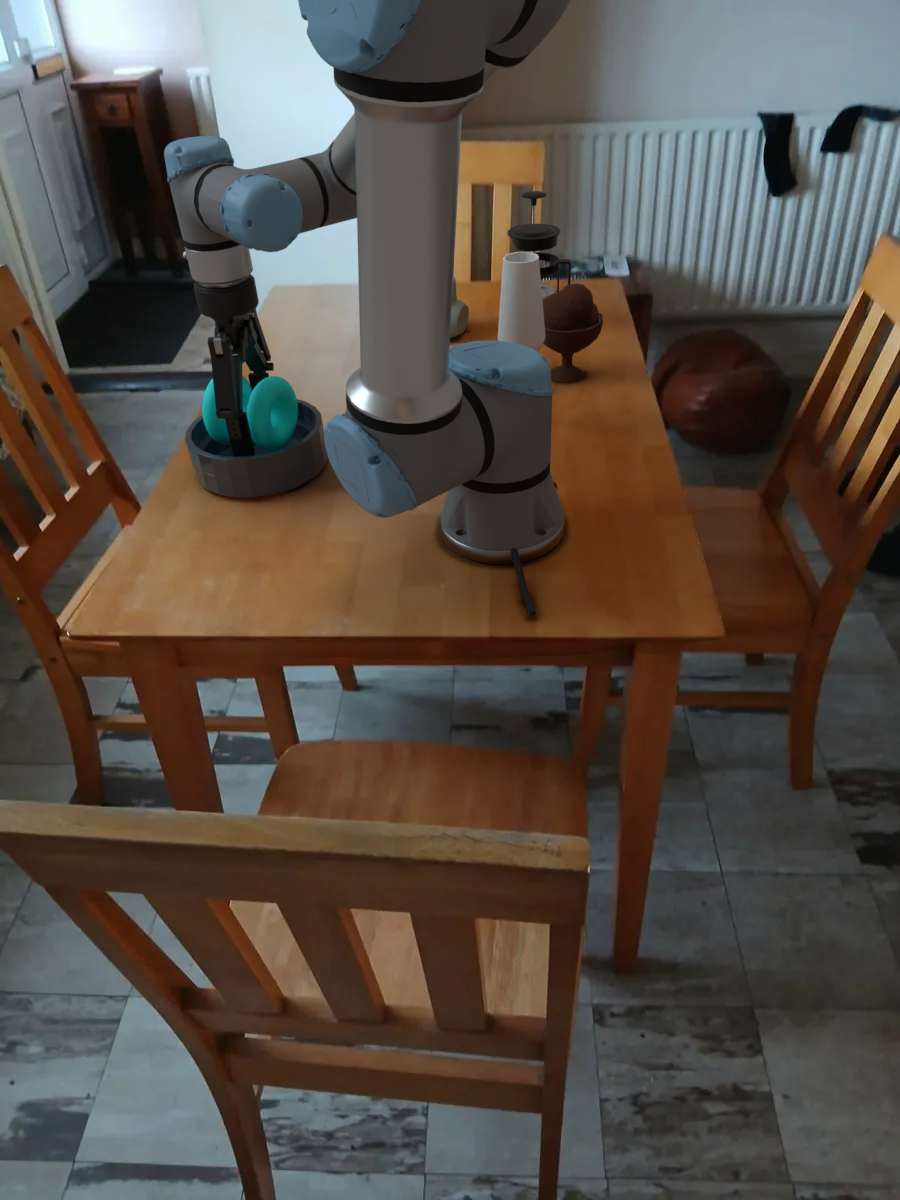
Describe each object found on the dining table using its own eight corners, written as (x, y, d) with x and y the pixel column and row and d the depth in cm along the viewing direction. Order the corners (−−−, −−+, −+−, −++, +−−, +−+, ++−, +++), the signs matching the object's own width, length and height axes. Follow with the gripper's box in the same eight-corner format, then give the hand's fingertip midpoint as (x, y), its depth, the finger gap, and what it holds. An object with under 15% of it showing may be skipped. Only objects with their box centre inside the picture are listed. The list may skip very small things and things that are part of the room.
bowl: (314, 502, 119) (306, 458, 115) (178, 502, 120) (166, 460, 116) (338, 435, 133) (332, 395, 129) (217, 437, 135) (208, 397, 131)
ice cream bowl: (598, 361, 149) (603, 270, 140) (600, 390, 140) (605, 295, 131) (534, 361, 150) (535, 271, 141) (533, 390, 142) (533, 296, 132)
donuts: (246, 423, 130) (231, 357, 123) (306, 432, 126) (295, 365, 120) (207, 456, 122) (190, 388, 116) (270, 466, 119) (256, 396, 113)
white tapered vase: (532, 407, 137) (532, 246, 122) (552, 425, 132) (555, 259, 117) (492, 417, 135) (487, 254, 120) (511, 436, 130) (508, 268, 115)
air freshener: (454, 347, 157) (451, 290, 151) (410, 344, 159) (405, 287, 153) (472, 324, 165) (470, 269, 159) (430, 321, 167) (426, 267, 161)
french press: (504, 338, 159) (501, 201, 145) (503, 319, 166) (501, 186, 152) (570, 336, 158) (574, 198, 144) (566, 316, 166) (570, 183, 151)
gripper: (220, 248, 120) (251, 398, 133) (162, 313, 101) (204, 480, 115) (274, 247, 119) (300, 398, 133) (226, 312, 101) (261, 480, 114)
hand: (256, 436), depth 124 cm, fingers closed on donuts, 11 cm apart
